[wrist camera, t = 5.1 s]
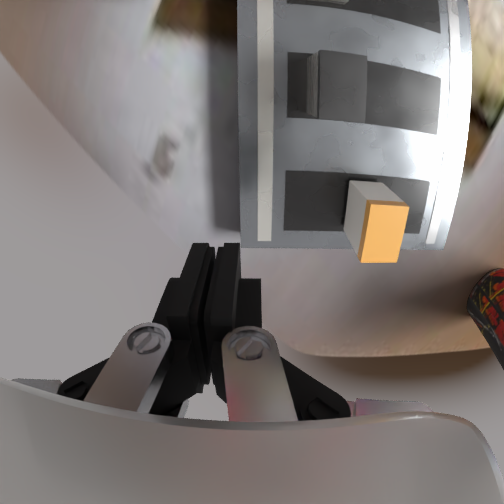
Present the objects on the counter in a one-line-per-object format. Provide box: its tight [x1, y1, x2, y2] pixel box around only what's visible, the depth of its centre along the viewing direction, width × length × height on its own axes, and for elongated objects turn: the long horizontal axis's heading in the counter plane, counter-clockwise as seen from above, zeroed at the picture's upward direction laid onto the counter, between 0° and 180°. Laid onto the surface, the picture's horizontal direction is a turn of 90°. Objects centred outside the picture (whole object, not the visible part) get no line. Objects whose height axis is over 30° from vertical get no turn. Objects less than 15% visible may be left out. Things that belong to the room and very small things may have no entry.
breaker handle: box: [343, 180, 409, 263], centre depth 15 cm, size 2×3×4 cm, turn 0°
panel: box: [237, 0, 472, 250], centre depth 13 cm, size 14×19×6 cm
